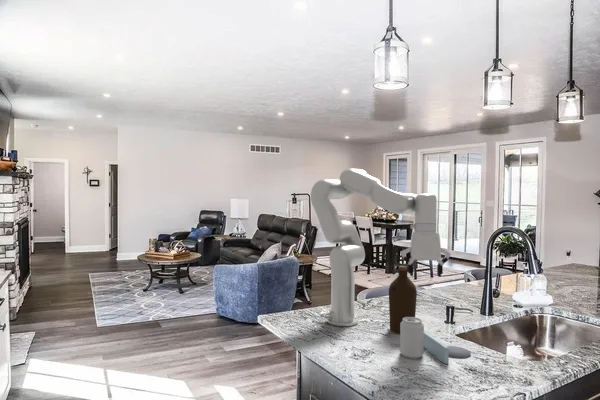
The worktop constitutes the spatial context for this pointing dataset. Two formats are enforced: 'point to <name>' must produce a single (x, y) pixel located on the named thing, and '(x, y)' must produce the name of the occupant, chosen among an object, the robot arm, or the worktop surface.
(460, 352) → the coaster
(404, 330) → the can
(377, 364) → the worktop surface
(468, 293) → the worktop surface
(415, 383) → the worktop surface
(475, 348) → the worktop surface
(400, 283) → the olive oil
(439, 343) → the acrylic wall
